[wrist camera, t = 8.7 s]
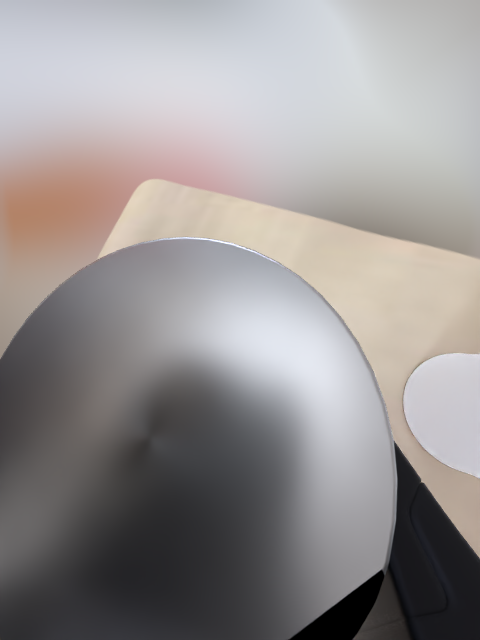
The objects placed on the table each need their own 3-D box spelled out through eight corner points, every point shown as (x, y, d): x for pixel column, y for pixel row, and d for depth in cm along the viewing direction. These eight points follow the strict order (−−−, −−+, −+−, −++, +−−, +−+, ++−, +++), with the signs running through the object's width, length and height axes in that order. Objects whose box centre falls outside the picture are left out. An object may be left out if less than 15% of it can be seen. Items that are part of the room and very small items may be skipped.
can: (259, 457, 13) (115, 979, 2) (196, 388, 14) (-100, 431, 3) (322, 386, 13) (547, 446, 2) (254, 325, 14) (166, 165, 3)
